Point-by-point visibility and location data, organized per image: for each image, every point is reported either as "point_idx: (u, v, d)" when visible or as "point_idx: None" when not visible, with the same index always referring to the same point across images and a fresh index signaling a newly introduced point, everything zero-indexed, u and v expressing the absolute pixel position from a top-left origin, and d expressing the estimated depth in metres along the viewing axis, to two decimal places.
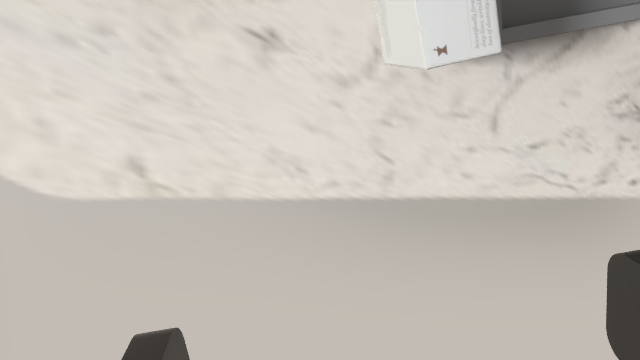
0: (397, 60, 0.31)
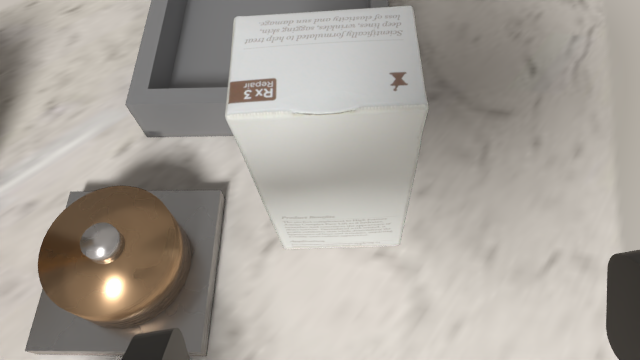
0: (399, 202, 0.20)
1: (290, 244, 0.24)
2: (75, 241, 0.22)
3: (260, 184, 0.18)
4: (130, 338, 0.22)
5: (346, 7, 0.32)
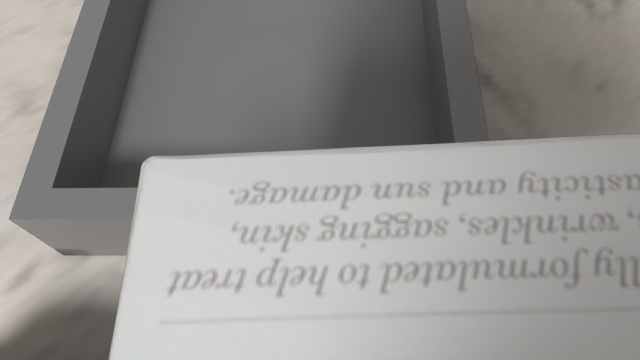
0: None
1: None
2: None
3: None
4: None
5: (390, 34, 0.20)
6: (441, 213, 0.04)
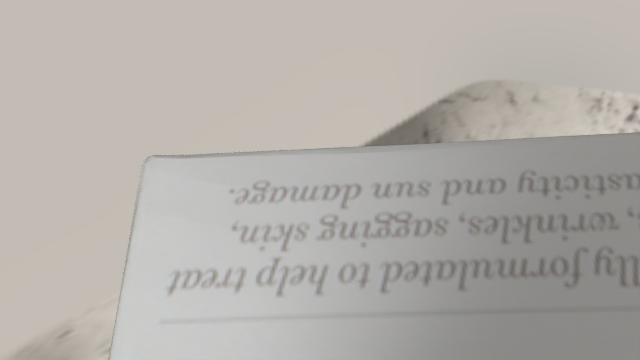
0: None
1: None
2: None
3: None
4: None
5: None
6: (441, 212, 0.04)
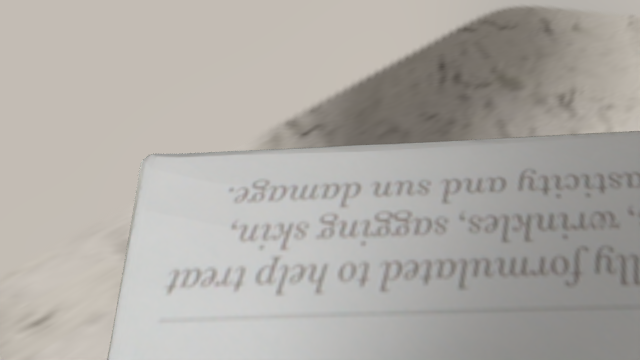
0: None
1: None
2: None
3: None
4: None
5: None
6: (441, 211, 0.04)
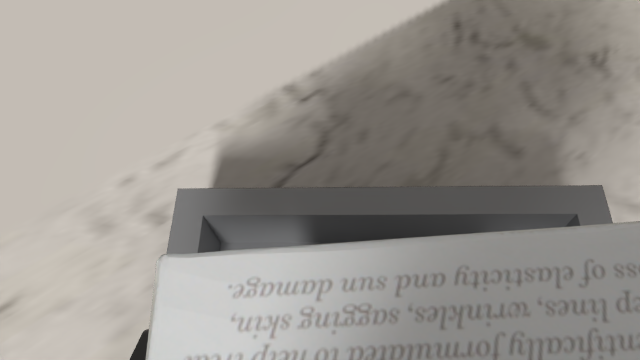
0: None
1: None
2: None
3: None
4: None
5: None
6: (394, 304, 0.05)
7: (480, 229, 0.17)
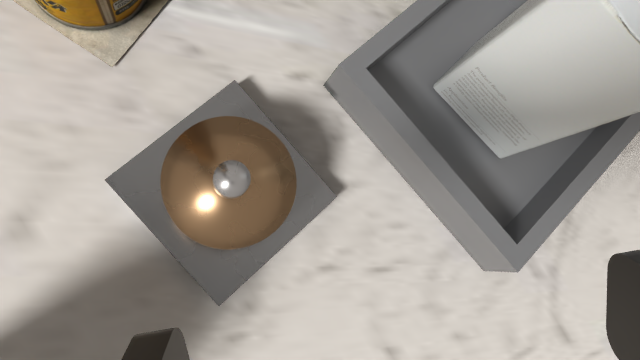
0: (557, 133, 0.23)
1: (443, 88, 0.28)
2: (212, 152, 0.22)
3: (510, 34, 0.21)
4: (182, 247, 0.23)
5: None
6: None
7: None
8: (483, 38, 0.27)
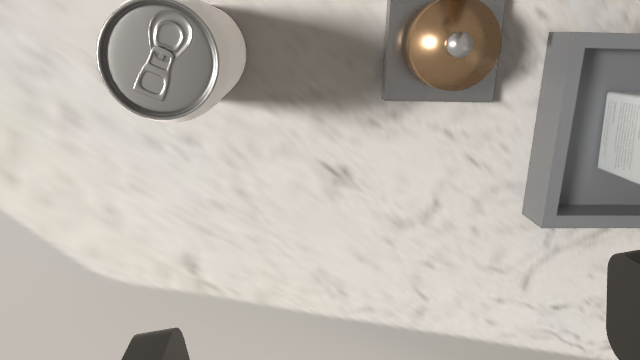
0: None
1: (612, 99, 0.36)
2: (462, 20, 0.32)
3: None
4: (395, 53, 0.34)
5: None
6: None
7: None
8: None
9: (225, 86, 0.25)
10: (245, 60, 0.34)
